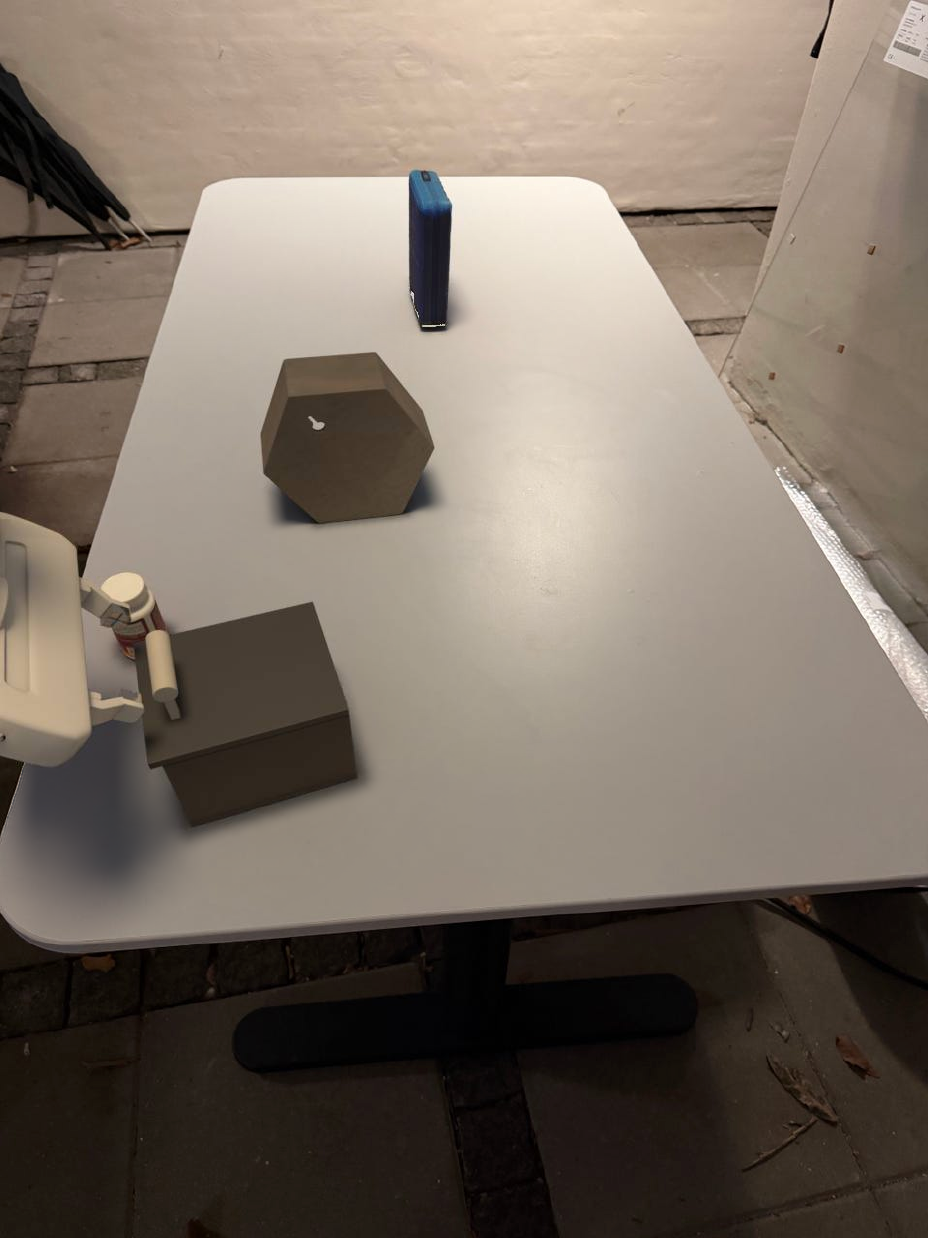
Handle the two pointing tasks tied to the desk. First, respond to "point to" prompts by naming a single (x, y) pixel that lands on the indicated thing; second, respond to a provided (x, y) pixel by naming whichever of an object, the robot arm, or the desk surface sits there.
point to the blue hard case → (429, 246)
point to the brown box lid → (235, 683)
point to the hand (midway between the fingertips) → (133, 661)
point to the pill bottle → (134, 609)
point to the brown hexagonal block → (344, 437)
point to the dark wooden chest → (264, 771)
